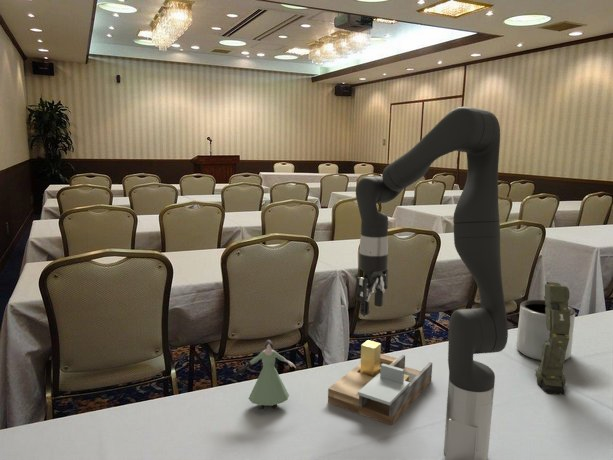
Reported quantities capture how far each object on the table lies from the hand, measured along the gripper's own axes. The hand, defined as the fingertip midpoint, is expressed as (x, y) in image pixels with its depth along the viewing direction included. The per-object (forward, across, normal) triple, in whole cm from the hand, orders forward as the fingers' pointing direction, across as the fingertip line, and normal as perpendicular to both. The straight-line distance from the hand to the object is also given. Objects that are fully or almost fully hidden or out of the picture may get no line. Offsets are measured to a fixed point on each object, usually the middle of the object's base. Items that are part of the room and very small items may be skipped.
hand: (371, 310), depth 135 cm
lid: (+16, -10, -9) cm, 21 cm away
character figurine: (+22, -26, +17) cm, 38 cm away
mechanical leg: (+22, +30, -42) cm, 56 cm away
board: (+22, -1, -4) cm, 22 cm away
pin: (+20, 0, 0) cm, 20 cm away
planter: (+22, +51, -37) cm, 67 cm away
